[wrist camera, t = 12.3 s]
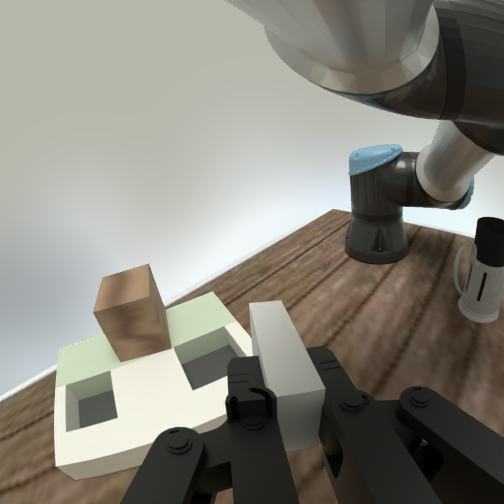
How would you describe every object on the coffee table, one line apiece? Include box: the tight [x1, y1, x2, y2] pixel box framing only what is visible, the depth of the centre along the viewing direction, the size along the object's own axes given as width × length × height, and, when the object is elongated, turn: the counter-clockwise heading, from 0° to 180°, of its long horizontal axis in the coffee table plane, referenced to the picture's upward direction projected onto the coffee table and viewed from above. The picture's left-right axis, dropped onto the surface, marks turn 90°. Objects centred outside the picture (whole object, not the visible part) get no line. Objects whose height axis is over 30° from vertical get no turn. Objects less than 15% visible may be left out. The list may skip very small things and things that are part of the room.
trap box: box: [54, 292, 253, 480], centre depth 35 cm, size 30×24×4 cm
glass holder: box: [454, 217, 504, 323], centre depth 33 cm, size 9×14×15 cm, turn 97°
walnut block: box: [93, 264, 172, 362], centre depth 39 cm, size 8×10×9 cm
